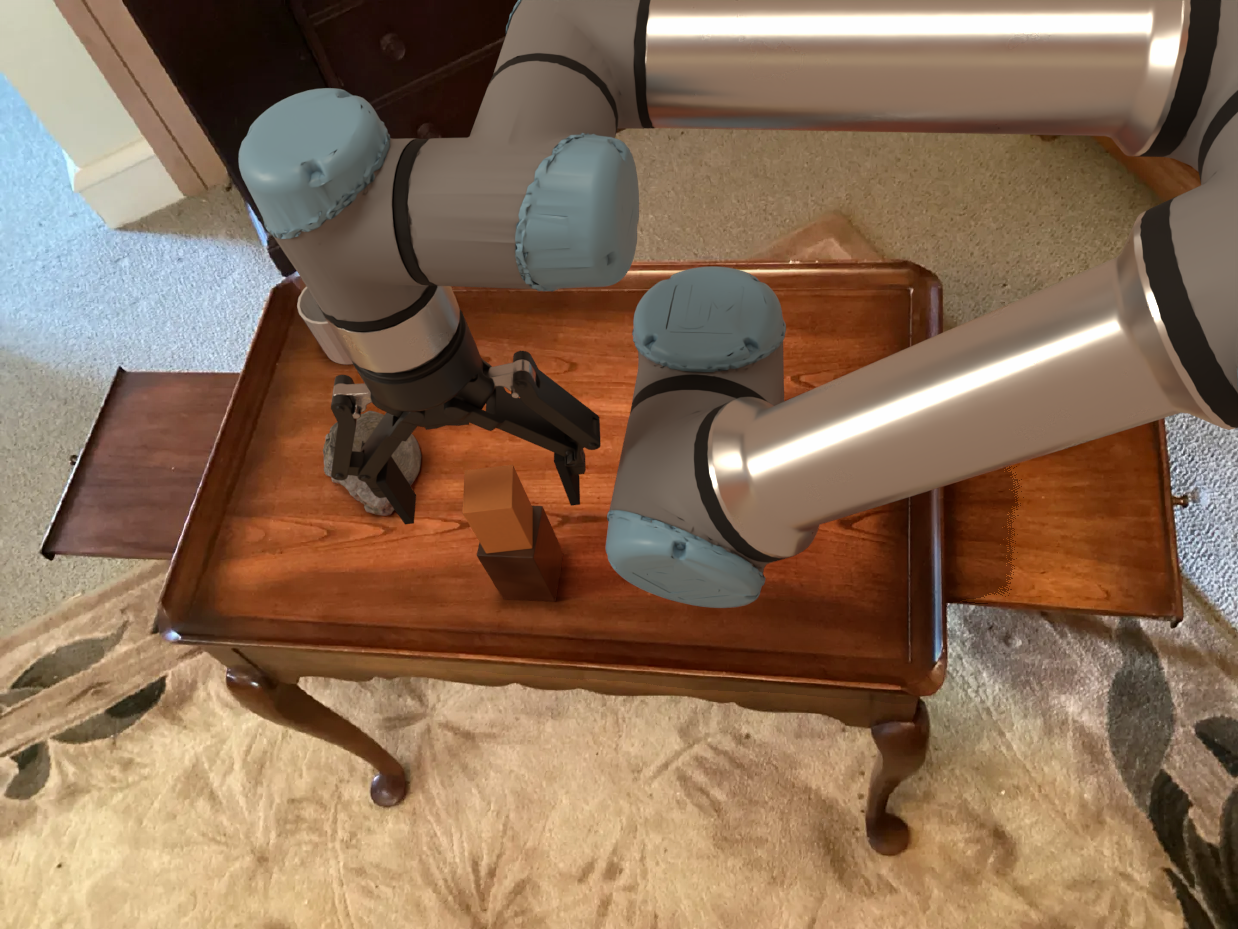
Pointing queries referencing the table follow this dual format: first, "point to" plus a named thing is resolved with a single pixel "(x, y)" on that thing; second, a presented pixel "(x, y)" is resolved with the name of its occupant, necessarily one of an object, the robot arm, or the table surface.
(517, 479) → the orange block
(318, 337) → the plain cylindrical cup
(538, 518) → the dark brown block
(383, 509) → the fossilized seashell
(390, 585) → the table surface
